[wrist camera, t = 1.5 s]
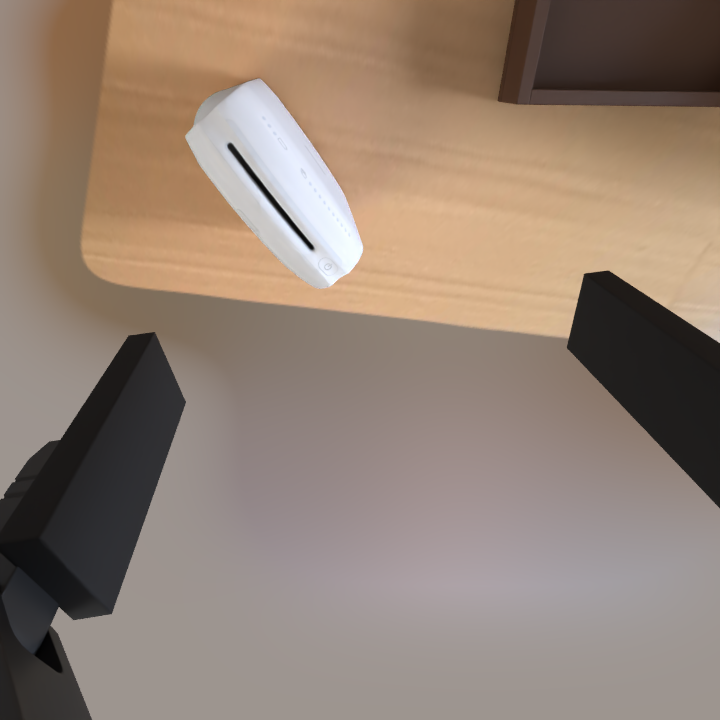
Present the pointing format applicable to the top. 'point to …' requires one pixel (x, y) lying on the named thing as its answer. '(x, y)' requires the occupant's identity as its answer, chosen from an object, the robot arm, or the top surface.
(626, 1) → the tray
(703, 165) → the top surface
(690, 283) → the top surface
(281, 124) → the photo printer
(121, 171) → the top surface
